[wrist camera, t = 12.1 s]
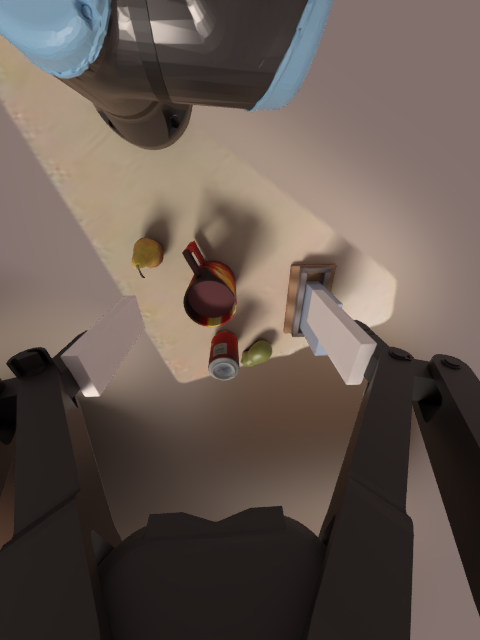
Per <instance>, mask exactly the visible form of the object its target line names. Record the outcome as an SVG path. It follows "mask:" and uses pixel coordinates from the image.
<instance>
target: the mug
mask: <svg viewBox="0 0 480 640" xmlns="http://www.w3.org/2000/svg"><path fill="white" fill-rule="evenodd" d="M192 252H194V254H195V256H196V257H197V259H198V261H199V263H200V264H201V265H200V266H198V264H197V263H196V261H195V259H194V257H193V256H192ZM182 253H183V255H184V257H185V259H186V261H187V262H188V264H189V266H190V267H191V269H192V271H193V272H194V276H193V278H192V280H191V282H190V284H189V287H188V289H187V291H186V293H185V296H184V308H185V311H186V313H187V314H188V316H189V317H190V318H191V319H192V320H193V321H194V322H196V323H198V324H200V325H202V326H207V327H216V326H220V325H223V324H225V323H227V322H228V321H229V320H230V319H231V318H232V317H233V316H234V314H235V312H236V308H237V300H236V285H235V277H234V274H233V272H232V270H231V269H230V268H229V267H228V266H227V265H225V264H224V263H221V262H218V261H209V262H206V261H205V259H204V258H203V256H202V254H201V252H200V250H199V249H198V247H197V245H196V243H195V241H193V242H190V244H189V245H188V246H187V248H186V249H185V250H184V251H183V252H182Z"/></svg>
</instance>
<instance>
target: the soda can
mask: <svg viewBox="0 0 480 640" xmlns="http://www.w3.org/2000/svg"><path fill="white" fill-rule="evenodd" d="M208 370H209V373H210V375H211V376H213V377H214V378H216V379H218V380H230V379H232V378H234V377H235V376H236V375H237V373H238V372H239V355H238V341H237V338H236V337H235V336H234V335H233V333H231V332H229V331H220V332H218V333H217V334H216V335H215V336H214V337H213V339H212V342H211V350H210V358H209V366H208Z"/></svg>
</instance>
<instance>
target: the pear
mask: <svg viewBox="0 0 480 640" xmlns="http://www.w3.org/2000/svg"><path fill="white" fill-rule="evenodd" d="M271 354H272V347H271V345H270V344H269V343H268V342H267V341H264V340H260V341H257V342H256V343H255V344H254V345H252V347H251V348H250V349H249V351H245V352H243V354H242V359H241V363H242V364H243V365H244V366H246V367H250V366H254V365H255V364H259V363H263V362H265V361H266V360H268V359H269V358H270V356H271Z"/></svg>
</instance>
